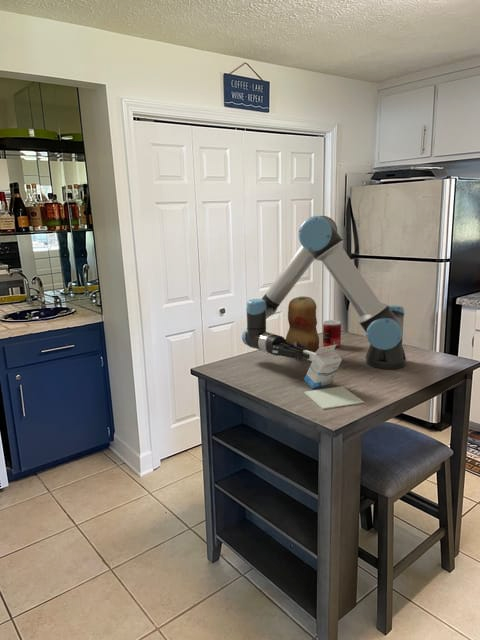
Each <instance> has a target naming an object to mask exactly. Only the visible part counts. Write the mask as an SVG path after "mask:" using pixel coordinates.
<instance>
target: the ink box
mask: <svg viewBox="0 0 480 640" xmlns="http://www.w3.org/2000/svg"><path fill="white" fill-rule="evenodd" d="M335 347H336V344H335V345H331V346H326V347H324V346H322V347H319V349H318V350H317V351H316V352H315V353H316V355H315V357H314V359H313V361H311V364H310V365H309V368H308V370H307V372H306V375H305V377H304V381H305V383H307V384H308V386H310V389H312V390H313V389H316V388H320V387H323V386H327V385H330V384H331V383H332V380H333V378H334V377H335V375H336V373H337V370H338V369H339V367H340V364H341V363H342V361H343V359H342V358H341V357H340V356H339V354H338V353H337V352H336V351H335V350H336V349H335ZM328 348H330V349H328Z"/></svg>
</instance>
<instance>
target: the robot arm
mask: <svg viewBox="0 0 480 640" xmlns="http://www.w3.org/2000/svg"><path fill="white" fill-rule="evenodd" d="M298 240H299V242H300V246H299V248H298V249H297V251H296V252H295V253H294V255H293V256H292V257H291V259H290V260H289V261H288V262H287V264H286V265H285V267H284V268H283V269H282V271H281V272H280V274H279V275H278V276H277V277H276V279H275V280H274V281H273V283H272V284H271V286H270V287H269V288H268V290H267V291H266V292H265V294H264V295H263V296H262V298H253V299H248V300H247V301H246V310H245V311H246V325H247V326H246V328H245V329H244V330H243V332H242V335H241V339H242V342H243V344H244V345H246V346H248V347H249V348H252V349H256V350H259V351H262V352H265V353H266V354H270V355H272V356H276V357H278V356H279V357H280V356H281V357H284V358H285V357H286V358H289V359H294V360H296V359H298V360H299V361H303V359H305V360H307V361H310V362H312V361H313V359H314V357H315V355H316V353H317V352H315V353H314V352H311V351H310V348H308V347H306V346H304V345H302V344H300V343H299V342H296V343H295V344H292V343H290V342H287V341H286V337H285V338H284V336H282V335H280V334H279V335H278V334H276V333H272V332H268V331H267V319H269V318H270V317H271V316H273V315H274V314H276V312H277V310H278V308H279V307H280V305H281V304H282V302H283V301H284V300H285V299H286V297H288V295H289V293H290V292H291V291H292V290H293V289H294V287H295V286H296V284H297V283H298V282H299V281H300V279H301V277H302V276H303V275H304V274H305V273H306V271H307V270H308V269H309V267H310V266H311V265H312V263H313V262H314V261H320V262H321V263H323V264H324V265H323V266H324V267H325V268H326V270H328V272H329V273H330V275H331V277H332V279H334V281H335V283H336V284H337V285H338V287H339V288H340V289H341V291H342V293H343V294H344V295H345V297H346V298H347V300H348V301H349V302H350V305H351V306H352V307H353V309H354V310H355V311H356V313H357V314H358V316H359V319H358V323H359V324H360V326H361V328H362V329H363V330H364V332H365V333H366V334H365V336H366V339H367V341H368V343H369V346H368V350H367V352H366V354H365V363H366V365H368V366H370V367H373V368H377V369H383V370H385V369H387V370H394V369H401V368H404V367H405V366H406V365H407V357H406V353H405V350H404V347H403V336H404V321H405V319H404V316H405V308H404V306H402V305H397V304H395V305H394V304H387V303H382V302H381V301H380V300H379V298H378V297H377V295H376V294H375V293H374V291H373V290H372V288H371V287H370V285H369V284H368V282H367V280H366V279H365V278H364V277H363V275H362V274H361V272H360V271H359V269H358V268H357V267H356V265H355V264H354V262H353V260H352V259H351V258H350V257H349V255H348V253H347V252H346V250H345V249H344V248H343V246H344V245H343V243H344V239H342V237H341V236H340V234H339V231H338V226H337V223H336V221H334V219H333V218H331V217H330V216H326V215H314V216H310V217H309V218H307V219H306V220H304V221H303V222H302V223H301V225H300V226H299V229H298Z"/></svg>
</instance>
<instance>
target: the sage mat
mask: <svg viewBox="0 0 480 640" xmlns="http://www.w3.org/2000/svg"><path fill="white" fill-rule="evenodd" d="M303 393H304V394H305V395H306V396H307V397H309V399H311V400H312V401H313V402H314V403H315V404H316V405H317V406H319V407H320V408H321V409H322V410H329V409H336V408H342V407H348V406H354V405H360V404H365V401H363V400H362V399H361V398H359V397H358V396H356V395H355V394H353V393H352V392H351V391H349V390H348V389H347V388H345V387H344V386H337V387H331V388H330V387H329V388H322V389H314V390H313V389H312V390H308V391H307V390H306V391H304V392H303Z"/></svg>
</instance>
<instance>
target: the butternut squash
mask: <svg viewBox="0 0 480 640" xmlns="http://www.w3.org/2000/svg"><path fill="white" fill-rule="evenodd" d="M317 308H318V307H317V303H316V301H315V300H314V299H313V298H312V297H309V296H298V297H294V298H292V299H291V300H290V301H289V302H288V309H287V320H288V321H287V322H288V325H289V328H288V330H287V334H286V337H285V340H286V341H287V342H290V343H292V344H295V343H296V342H299V343H300V344H302V345H304V346H306V347H308V348H310V351H311V352H314V353H317V351H318V349H319V348H320V338H319V337H320V336H319V333H318V330H317V324H318V320H317Z"/></svg>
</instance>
